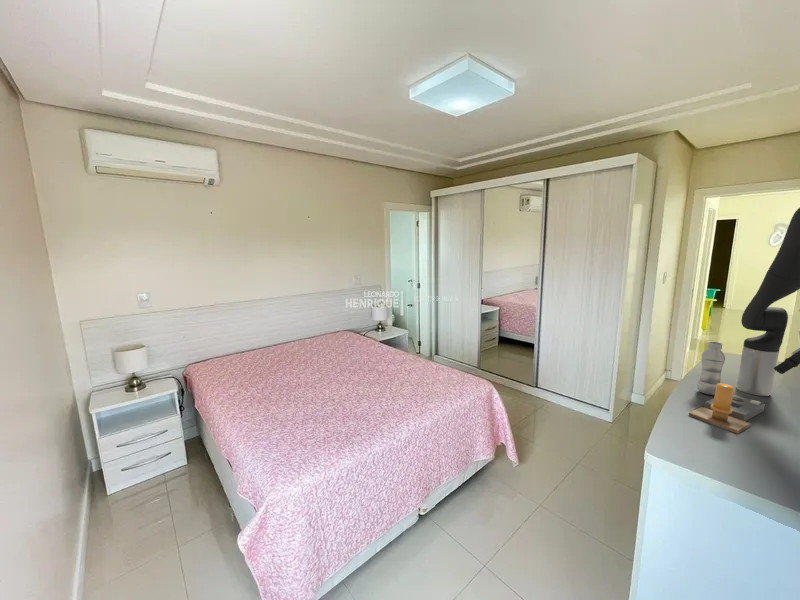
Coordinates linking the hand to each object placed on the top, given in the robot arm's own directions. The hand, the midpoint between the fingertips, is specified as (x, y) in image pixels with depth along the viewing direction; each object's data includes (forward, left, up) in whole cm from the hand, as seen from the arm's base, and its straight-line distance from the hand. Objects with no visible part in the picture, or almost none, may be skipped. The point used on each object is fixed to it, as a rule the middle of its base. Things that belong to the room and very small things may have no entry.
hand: (783, 367), depth 95 cm
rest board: (+5, -10, -21) cm, 24 cm away
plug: (+5, -10, -20) cm, 23 cm away
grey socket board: (-9, -11, -21) cm, 25 cm away
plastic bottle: (-17, -21, -21) cm, 35 cm away
